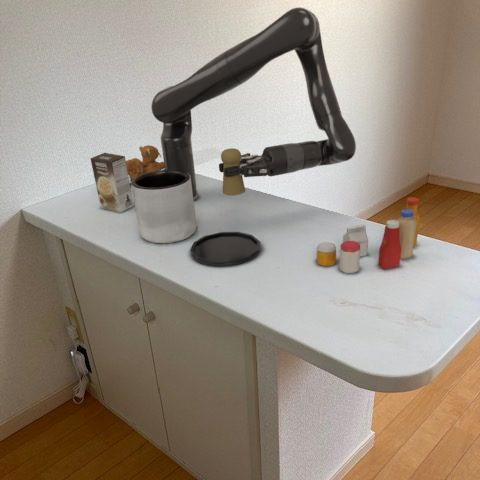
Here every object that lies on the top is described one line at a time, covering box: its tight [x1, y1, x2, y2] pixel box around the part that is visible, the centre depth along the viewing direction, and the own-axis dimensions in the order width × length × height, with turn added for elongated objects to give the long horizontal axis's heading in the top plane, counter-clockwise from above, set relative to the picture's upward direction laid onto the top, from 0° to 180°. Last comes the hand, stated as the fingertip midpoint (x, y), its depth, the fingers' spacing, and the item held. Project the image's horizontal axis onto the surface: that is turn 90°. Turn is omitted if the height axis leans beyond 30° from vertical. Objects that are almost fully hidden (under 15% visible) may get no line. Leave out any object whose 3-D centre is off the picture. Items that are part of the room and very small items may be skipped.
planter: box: [130, 169, 198, 244], centre depth 140 cm, size 16×16×16 cm
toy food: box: [316, 196, 421, 274], centre depth 121 cm, size 27×13×12 cm, turn 104°
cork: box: [220, 147, 246, 196], centre depth 134 cm, size 6×6×11 cm
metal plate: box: [190, 231, 262, 268], centre depth 133 cm, size 18×18×1 cm
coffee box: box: [90, 152, 134, 213], centre depth 160 cm, size 9×6×16 cm
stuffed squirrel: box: [126, 144, 165, 183], centre depth 177 cm, size 10×14×13 cm
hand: (222, 170), depth 133 cm, fingers closed on cork, 3 cm apart
